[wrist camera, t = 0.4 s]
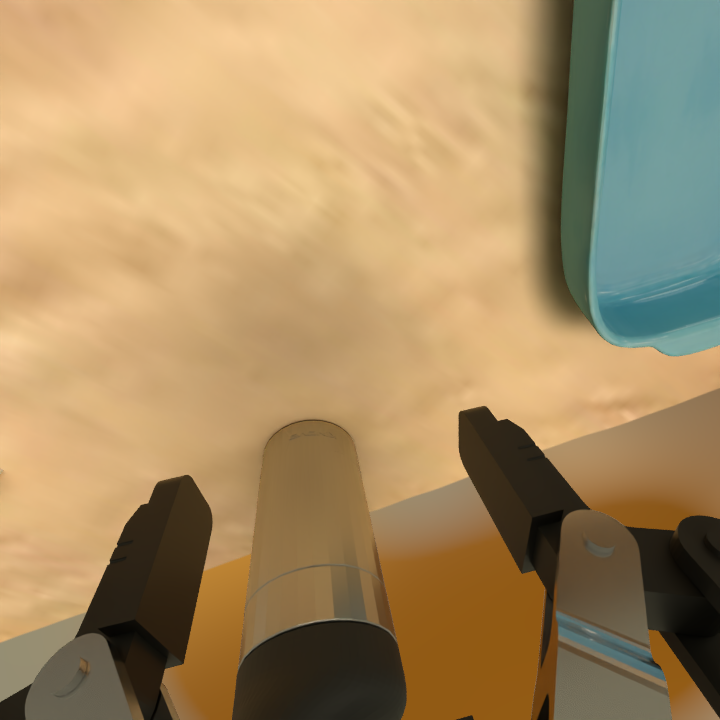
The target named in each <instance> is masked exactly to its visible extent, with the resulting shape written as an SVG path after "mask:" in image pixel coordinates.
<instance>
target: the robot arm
mask: <svg viewBox="0 0 720 720" xmlns="http://www.w3.org/2000/svg"><path fill="white" fill-rule="evenodd" d="M459 453H460V457H461V460H462V463H463V465H464V467H465V469H466V471H467V473H468V475H469V477H470V478H471V480H472V482H473V484H474V486H475V488H476V490H477V492H478V493H479V495H480V497H481V499H482V501H483V503H484V504H485V506H486V508H487V510H488V512H489V514H490V516H491V517H492V519H493V521H494V523H495V525H496V527H497V529H498V531H499V532H500V534H501V536H502V538H503V540H504V542H505V543H506V545H507V547H508V549H509V551H510V553H511V554H512V557H513V558H514V560H515V562H516V564H517V566H518V568H519V570H520V571H521V573H522V574H523V573H527V572H530V571H534V570H535V571H536V572H537V574H538V576H539V578H540V579H541V581H542V583H543V585H544V586H545V595H544V606H543V617H542V629H541V639H540V651H539V662H538V671H537V679H536V685H535V691H534V698H533V706H532V715H531V720H672V716H671V709H670V701H669V694H668V688H667V683H666V680H665V676H664V673H663V671H662V669H661V667H660V666H659V665H658V664H657V663H655V662H654V660H653V658H652V655H651V650H650V644H649V634H648V629H649V630H656V631H659V632H660V634H661V635H662V637H663V638H664V639H665V641H666V642H667V644H668V645H669V647H670V648H671V649H672V651H673V652H674V654H675V655H676V656H677V658H678V659H679V661H680V662H681V664H682V665H683V667H684V668H685V669H686V671H687V672H688V673H689V675H690V677H691V678H692V679H693V681H694V682H695V684H696V685H697V687H698V688H699V689H700V691H701V692H702V694H703V695H704V697H705V698H706V699H707V701H708V702H709V704H710V705H711V707H712V708H713V709H714V711H715V712H716V714H717V715H718V716H719V718H720V519H717V518H713V517H708V516H690V517H687V518H685V519H683V520H682V521H681V522H680V523H679V525H678V527H677V529H676V530H675V531H672V530H659V529H646V528H634V527H627V526H624V525H622V524H621V523H620V522H618V521H617V520H616V519H614V518H612V517H610V516H608V515H606V514H604V513H601V512H598V511H594V510H591V509H590V508H589V507H588V506H587V505H586V504H585V503H584V502H583V501H582V500H581V499H580V497H579V496H578V495H577V494H576V492H575V491H574V490H573V489H572V488H571V486H570V485H569V484H568V483H567V481H566V480H565V479H564V478H563V477H562V475H561V474H560V473H559V472H558V471H557V469H556V468H555V467H554V466H553V464H552V463H551V462H550V461H549V460H548V459H547V458H545V456H544V453H543V452H542V451H541V450H540V449H539V447H538V446H536V445H535V443H534V441H533V440H532V439H531V438H530V436H529V435H528V434H527V433H526V432H525V430H524V429H522V428H521V427H519V426H518V425H516V424H514V423H513V422H511V421H510V420H508V419H505V420H500V421H497V420H496V418H495V417H494V416H493V414H492V413H491V412H490V410H489V409H488V408H487V407H486V406H481V407H477V408H473V409H468V410H464V411H460V412H459ZM211 531H212V513H211V509H210V507H209V505H208V503H207V502H206V500H205V499H204V497H203V495H202V494H201V492H200V490H199V489H198V487H197V485H196V484H195V482H194V480H193V479H192V477H191V476H189V475H184V476H180V477H176V478H171V479H167V480H163V481H160V482H158V483H157V484H156V486H155V488H154V490H153V493H152V495H151V498H150V500H149V503H148V504H144V505H141V506H140V507H139V508H138V510H137V511H136V512H135V513H134V514H133V516H132V517H131V518H130V519H129V521H128V522H127V523H126V525H125V527H124V529H123V532H122V534H121V536H120V538H119V541H118V543H117V545H118V546H117V548H115V550H114V552H113V554H112V556H111V559H110V565H107V568H106V570H105V572H104V574H103V577H102V579H101V581H100V583H99V586H98V588H97V590H96V593H95V595H94V597H93V599H92V602H91V604H90V606H89V608H88V611H87V613H86V615H85V618H84V620H83V622H82V624H81V626H80V629H79V631H78V633H77V635H76V637H75V639H73V640H72V641H70V642H69V643H67V644H66V645H65V646H63V647H62V648H61V649H60V650H58V651H57V652H56V653H55V654H54V655H53V656H52V657H51V658H50V659H49V660H48V662H47V663H46V664H45V665H44V667H43V668H42V669H41V671H40V672H39V673H38V675H37V676H36V678H35V680H34V682H33V683H32V684H30V685H29V686H27V687H25V688H24V689H22V690H20V691H19V692H17V693H15V694H13V695H12V696H10V697H8V698H7V699H5V700H3V701H1V702H0V720H180V719H179V716H178V714H177V712H176V709H175V707H174V705H173V702H172V700H171V698H170V695H169V693H168V691H167V688H166V687H165V685H164V684H163V683H162V678H163V674H164V670H165V669H166V668H170V667H174V666H177V665H182V664H183V663H184V659H185V654H186V650H187V644H188V640H189V635H190V631H191V626H192V621H193V616H194V611H195V607H196V602H197V597H198V593H199V588H200V583H201V578H202V573H203V569H204V564H205V560H206V555H207V550H208V545H209V541H210V536H211ZM405 706H406V682H405V676H404V671H403V667H402V662H401V657H400V653H399V648H398V644H397V640H396V635H395V630H394V625H393V621H392V616H391V611H390V607H389V602H388V597H387V593H386V589H385V585H384V580H383V575H382V570H381V566H380V561H379V557H378V552H377V547H376V543H375V538H374V533H373V529H372V524H371V519H370V515H369V510H368V505H367V501H366V496H365V491H364V487H363V482H362V477H361V472H360V467H359V462H358V458H357V453H356V449H355V445H354V443H353V440H352V438H351V437H350V436H349V435H348V433H347V432H345V431H344V430H343V429H342V428H340V427H338V426H336V425H334V424H332V423H328V422H324V421H313V420H312V421H302V422H298V423H294V424H291V425H289V426H287V427H285V428H283V429H281V430H280V431H279V432H277V433H276V434H275V435H274V436H273V437H272V438H271V439H270V440H269V442H268V444H267V445H266V447H265V450H264V454H263V461H262V469H261V478H260V485H259V493H258V501H257V510H256V519H255V527H254V536H253V544H252V553H251V563H250V570H249V579H248V588H247V596H246V605H245V613H244V624H243V634H242V641H241V650H240V658H239V666H238V674H237V680H236V690H235V699H234V707H233V715H232V720H401V718H402V716H403V713H404V709H405ZM457 720H474V719H473V716H468V717H464V718H461V719H457Z"/></svg>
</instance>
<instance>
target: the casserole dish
mask: <svg viewBox="0 0 720 720" xmlns="http://www.w3.org/2000/svg"><path fill="white" fill-rule="evenodd" d="M561 250H562V262H563V269H564V276H565V280H566V283H567V286H568V288H569V291H570V293H571V295H572V297H573V298H574V300H575V302H576V304H577V305H578V307H579V308H580V309H581V311H582V312H583V314H584V315H585V316H586V318H587V319H588V320H589V321H590V323H591V324H592V325H593V326H594V328H595V329H596V331H597V332H598V334H599V335H600V336H601V337H602V338H603V339H604V340H606V341H607V342H609V343H610V344H612V345H616V346H619V347H628V348H638V347H654V348H655V349H656V350H658V351H659V352H661V353H663V354H665V355H668V356H683V355H688V354H693V353H696V352H700V351H703V350H707V349H710V348H712V347H715V346H718V345H720V0H574V7H573V24H572V40H571V57H570V74H569V92H568V110H567V124H566V139H565V153H564V168H563V185H562V203H561Z"/></svg>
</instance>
